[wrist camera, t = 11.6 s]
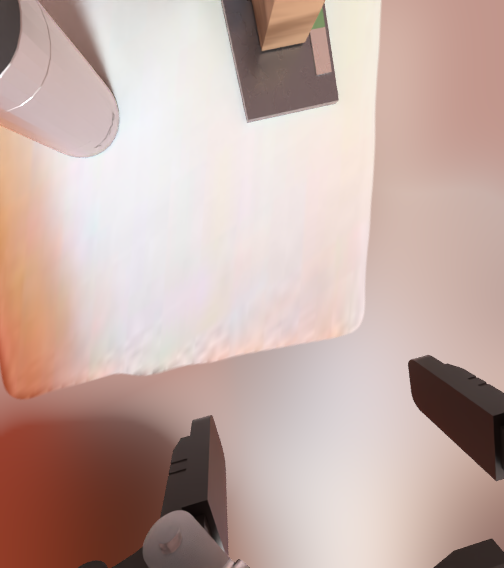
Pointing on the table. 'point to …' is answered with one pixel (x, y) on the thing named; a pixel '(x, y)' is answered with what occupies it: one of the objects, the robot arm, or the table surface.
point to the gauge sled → (285, 21)
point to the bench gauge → (279, 66)
